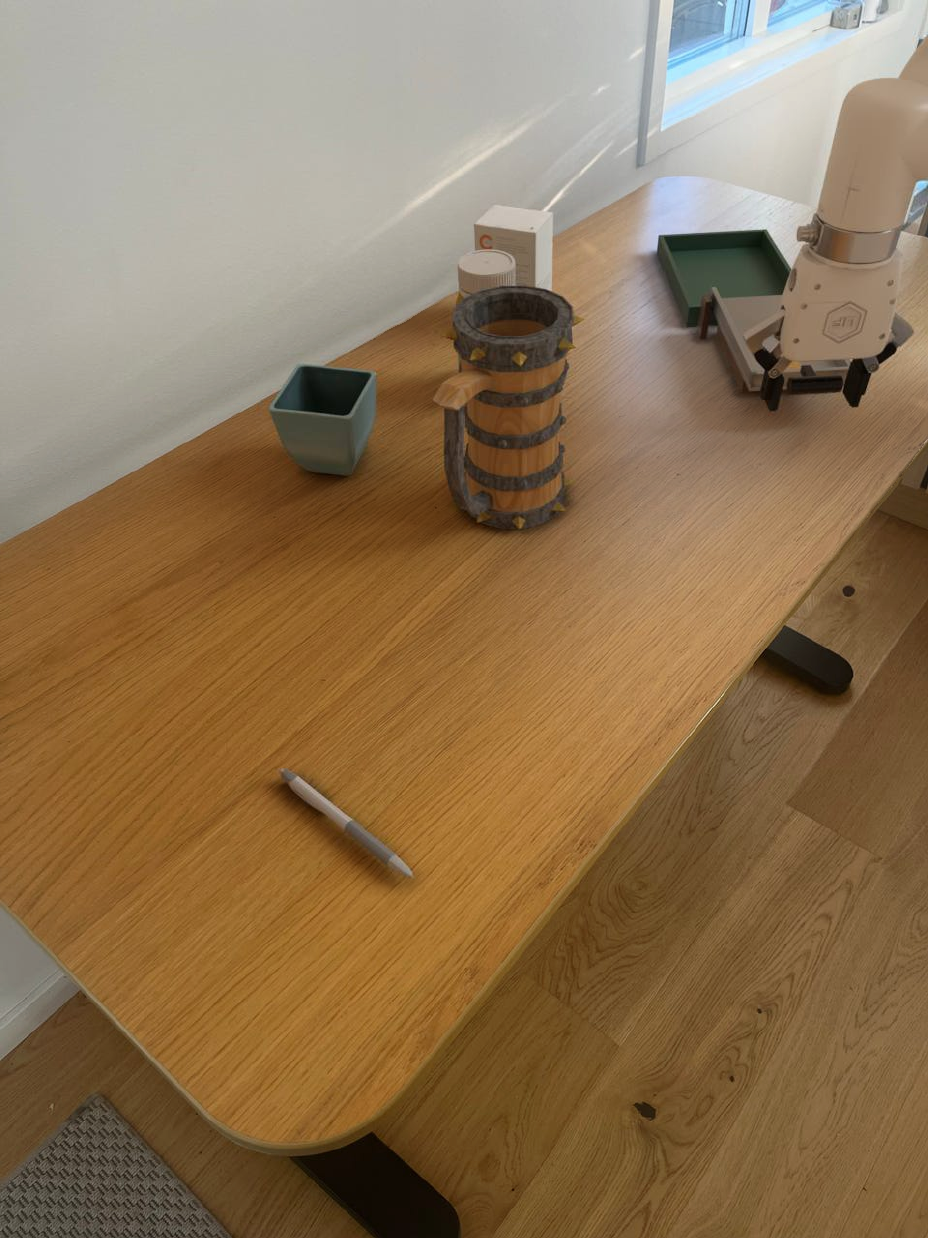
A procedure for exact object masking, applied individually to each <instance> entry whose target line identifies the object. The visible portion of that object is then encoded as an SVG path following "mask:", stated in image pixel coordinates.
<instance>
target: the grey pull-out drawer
mask: <svg viewBox="0 0 928 1238" xmlns="http://www.w3.org/2000/svg"><path fill="white" fill-rule="evenodd" d="M710 298H711V300H712V306H711V309H712V311H713V314H714V316H715V318H716V320H717V322H718V325H719V327H720V329H721V331H722V333H723V335H724V338H725V340H726V342H727V344H728V346H729V348H730V351H731V353H732V355H733V357H734V359H735V362H736V364H737V366H738V368H739V370H740V372H741V375H742V377H743V379H744V381H745V383H746V386H747V388H748V390H749V391H760V389H761V385H762V380H763V376H764V371H765V370H764V369H763V368H762V367H761V366H760V365H759V363H758V362H757V361H756V360H755V358H754V356H753V354H752V353H751V351H750V350H749V348H748V346H747V345H746V343H745V341H744V339H743V334H744V333H745V332H746V331H747V330H749V329H751V328H752V327H754V326H756V325H757V324H759V323H760V322H762V321H764V320H765V319H767V318H768V317H770V316H772V315H773V314H775V313H776V312H777V311H778V308H779V304H780V301H781V298H782V295H772V296H754V297H735V298H721V296H720V294H719V292H718V290H717V288H716V287H711V292H710ZM718 325H717V326H718ZM777 341H778V340H777V339H775V338H774V335H771V336H770V337H768V338H767V339H765V340H764V341H763V342H762V345H763V346H764V347H765V348H766V349H767V350H768V351H769V350H770V349H771V348H772V347H773V345H774V344H775V343H776V342H777ZM799 363H800V365H801V369H791V370H784V371H783V372H782V375H783V377H784V385H783V389H787V391H786V393H787V395H788V396H801V395H817V394H818V395H820V394H837V393H838V394H839V393H842V390H843V386H844V383H845V379H846V376H847V373H848V369H849V366H850V363H851V359H847V360H829V361H806V362H799ZM783 389H782V390H783Z"/></svg>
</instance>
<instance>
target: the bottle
mask: <svg viewBox="0 0 928 1238" xmlns="http://www.w3.org/2000/svg"><path fill="white" fill-rule="evenodd" d="M457 281H458V295H457V297H456V301H455V307H456V306H457V305H458V304H459V303H460V302H461V301H462V299H463V298H465V297H467V296H469V295H472V294H474V293H476V292H478V291H480V290H484V289H489V288H494V287H498V286H515V259H514V258H513V256H512V255H510V254H508V253H506V252H503V251H499V250H490V249H487V250H477V251H475V250H473V251H470V252H467V253H465V254H463V255H461V257H460V258H459V259H458V261H457ZM457 359H458V360H457V361H458V365H459V364H460V356H459V354H458V353H457Z"/></svg>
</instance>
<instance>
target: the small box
mask: <svg viewBox="0 0 928 1238" xmlns="http://www.w3.org/2000/svg"><path fill="white" fill-rule="evenodd" d="M473 231H474V233H473V234H474V251H477V250H487V249H490V250H499V251H503V252H506V253H508V254H510V255H512V256H513V258H514V259H515V285H526V286H531V287H537V288H543V289H547V290H549V291H552V288H553V286H552V285H553V242H554V241H553V240H554V239H553V238H554V237H553V234H554V233H553V232H554V212H552V211H544V210H538V209H537V210H536V209H530V208H521V207H513V206H505V205H499V204H492V205H491V206H490V208H489V209H488V210H486V212H484V214H483V215H481V217H479V218H478V220H476V221H475V222H474V223H473Z"/></svg>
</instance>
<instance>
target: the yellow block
mask: <svg viewBox="0 0 928 1238" xmlns="http://www.w3.org/2000/svg"><path fill="white" fill-rule="evenodd" d="M791 369H801V365H800V363H799V362H797V361H792V362H791V363H790V365H789V366H788V367H787V368H786V369H785V370H791Z"/></svg>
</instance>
